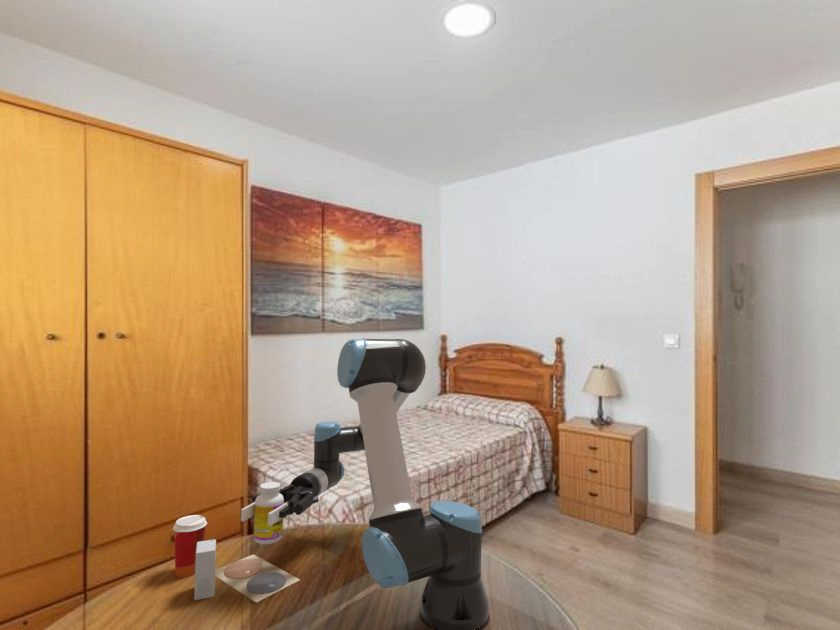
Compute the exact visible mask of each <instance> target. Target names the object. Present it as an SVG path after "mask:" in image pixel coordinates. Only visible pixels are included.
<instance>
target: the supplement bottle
mask: <svg viewBox="0 0 840 630" xmlns="http://www.w3.org/2000/svg"><path fill="white" fill-rule="evenodd" d="M280 489H281V483H280V482H278V481H277V482H276V481H268V482H263V483H261V484H260V485H259V494H260V493H261V494H260V495H259V496H258V497H257V498H256V500H255V515H254V517H253V518H254V521H253V522H254V524H253V540H254V542H255V543H257V544H259V545H260V544H261V545H270V544H274V543H277V542H279V541H280V540H281V539H282V538H283V535H284V534H283V533H284V518H282V519H280V520H279V521H277V522H276V523H274V524H273V525H271V526H268V513H270V512H271V511H273V510H275V509H276V508H278V507H280V506H281V505H283V504H284V497H283V495H282V494H280V493H279V491H280Z"/></svg>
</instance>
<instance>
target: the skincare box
mask: <svg viewBox="0 0 840 630" xmlns="http://www.w3.org/2000/svg"><path fill="white" fill-rule="evenodd" d="M216 550H217V539H208V540H204V541H200V542H197V546H196V561H195V575H194V592H193V593H194V595H193V600H194V601H199V600H203V599H209V598H213V597H215V594H216V593H215V592H216V591H215V589H216V576H215V570H216V557H217V551H216Z"/></svg>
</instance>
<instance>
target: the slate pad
mask: <svg viewBox="0 0 840 630" xmlns="http://www.w3.org/2000/svg"><path fill="white" fill-rule="evenodd" d="M285 583H286V577H285V576H284V575H283V574H281V573H278V572H266V573H261V574H258V575H256V576H254V577H252V578H251V579H250V580H249V581H248V582H247V589H248V591H250V592H252V593H255V594H266V593H271V592H274V591H277V590H279V589H280V588H282V587H283V586H284V585H285Z"/></svg>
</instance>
